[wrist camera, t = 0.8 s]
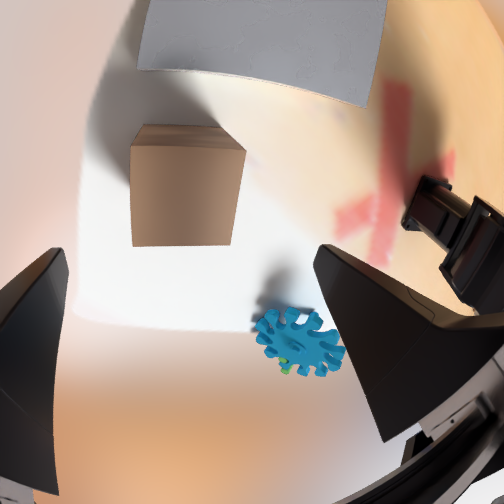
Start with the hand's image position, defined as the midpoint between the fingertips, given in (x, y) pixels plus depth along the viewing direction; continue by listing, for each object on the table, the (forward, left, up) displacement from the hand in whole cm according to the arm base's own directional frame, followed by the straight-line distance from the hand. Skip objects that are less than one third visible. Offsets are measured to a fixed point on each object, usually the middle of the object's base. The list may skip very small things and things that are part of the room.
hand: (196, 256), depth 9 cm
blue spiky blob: (-12, +17, -11) cm, 23 cm away
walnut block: (0, 0, -10) cm, 10 cm away
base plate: (-4, -13, -10) cm, 17 cm away
